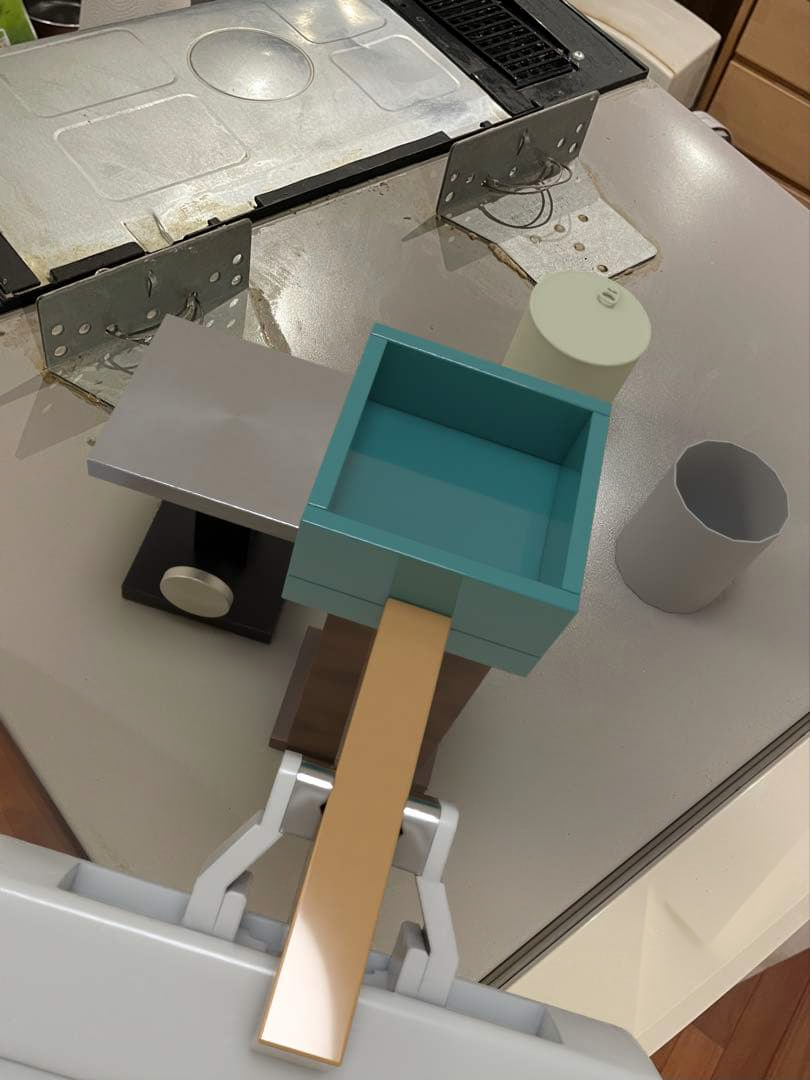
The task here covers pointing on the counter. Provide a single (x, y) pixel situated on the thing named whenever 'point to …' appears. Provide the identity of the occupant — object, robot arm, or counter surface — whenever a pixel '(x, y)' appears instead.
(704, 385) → the counter surface
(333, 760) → the plinth
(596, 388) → the can
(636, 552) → the cup
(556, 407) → the teal handled box
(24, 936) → the robot arm
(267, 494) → the scale
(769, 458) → the counter surface
